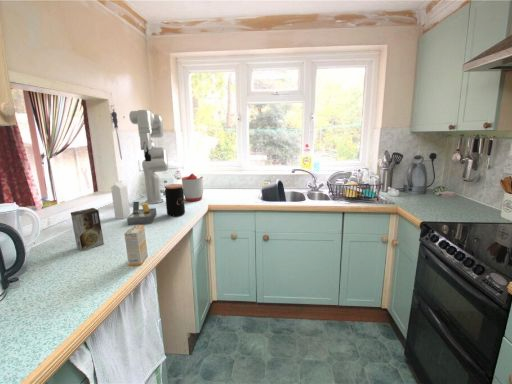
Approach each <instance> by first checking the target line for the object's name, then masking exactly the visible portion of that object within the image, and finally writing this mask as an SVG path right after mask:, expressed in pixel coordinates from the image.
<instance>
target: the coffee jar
mask: <svg viewBox="0 0 512 384" xmlns="http://www.w3.org/2000/svg"><path fill="white" fill-rule="evenodd" d="M164 188H165V190H164V195H165V197H164V198H165V206H166V208H165V209H166V214H167V216H169V217H172V218H173V217H181V216H183V215H184V214H185V213H186V207H185V196H184V192H183V185H182V183H175V184H167V185H164Z"/></svg>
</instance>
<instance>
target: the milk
mask: <svg viewBox="0 0 512 384" xmlns="http://www.w3.org/2000/svg"><path fill="white" fill-rule="evenodd" d="M110 189H111V197H112V202H113V203H112V205H113V210H114V218H115V219H118V220H119V219H120V220H126V219H127V218H128V217H129V216H130V215H131V209H130V199H129V192H128V186H127V185H126V184H125V183H123V180H118V181H115V182H114V185H112V186H111V187H110Z"/></svg>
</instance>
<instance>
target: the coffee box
mask: <svg viewBox="0 0 512 384" xmlns="http://www.w3.org/2000/svg"><path fill="white" fill-rule="evenodd" d="M70 216H71V217H70V218H71V222H72V227H73V233H74V239H75V244H76V248H77V249H78V250H80V251H82V252H83V251H86V250H90V249H93V248H95V247H96V248H97V247H98V246H101V245H104V244H105V242H104V236H103V229H102V224H101V219H100V218H101V217H100V212H99V209H97V208H95V207H90V208H85V209H82V210H76V211H71V212H70Z"/></svg>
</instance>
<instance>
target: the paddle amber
mask: <svg viewBox="0 0 512 384" xmlns="http://www.w3.org/2000/svg"><path fill="white" fill-rule="evenodd" d="M141 205H142V209H143V211H144V213H150V210H149V209H150V207H149V204H148V203H145V202H142V204H141Z"/></svg>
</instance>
